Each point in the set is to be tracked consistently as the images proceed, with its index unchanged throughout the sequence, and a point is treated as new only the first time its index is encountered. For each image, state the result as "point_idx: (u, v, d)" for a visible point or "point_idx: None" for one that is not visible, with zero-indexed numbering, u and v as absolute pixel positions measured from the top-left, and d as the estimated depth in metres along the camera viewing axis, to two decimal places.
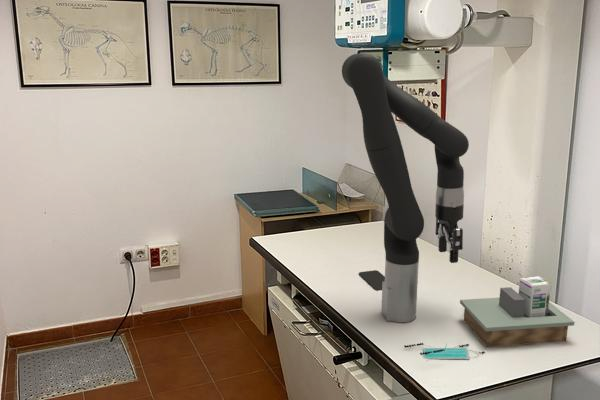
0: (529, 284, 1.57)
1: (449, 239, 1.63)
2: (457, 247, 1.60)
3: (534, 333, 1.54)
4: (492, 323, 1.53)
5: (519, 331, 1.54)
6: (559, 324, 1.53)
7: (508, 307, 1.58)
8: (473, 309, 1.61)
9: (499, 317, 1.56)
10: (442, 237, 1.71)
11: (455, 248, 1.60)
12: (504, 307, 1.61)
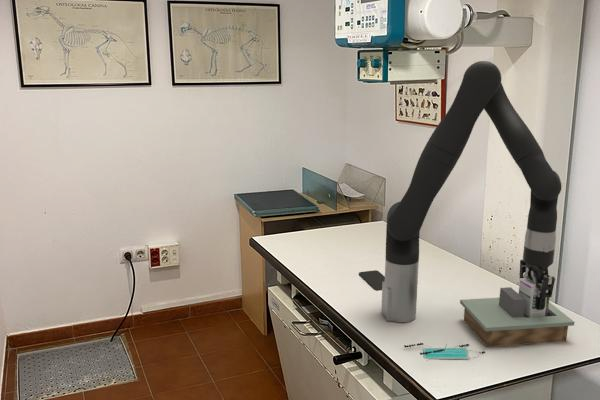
0: (529, 284, 1.57)
1: (537, 285, 1.56)
2: (546, 294, 1.53)
3: (534, 333, 1.54)
4: (492, 323, 1.53)
5: (519, 331, 1.54)
6: (559, 324, 1.53)
7: (508, 307, 1.58)
8: (473, 309, 1.61)
9: (499, 317, 1.56)
10: None
11: (544, 295, 1.53)
12: (504, 307, 1.61)
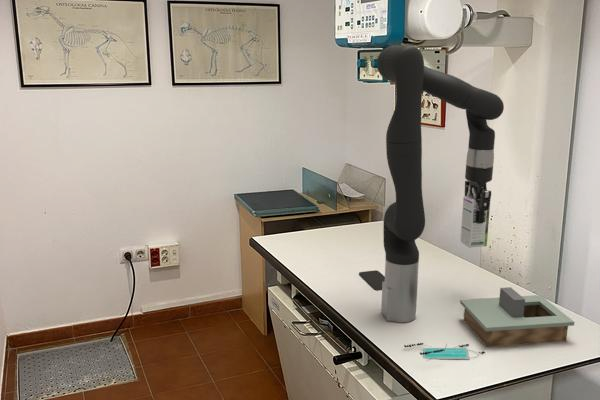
0: (470, 200, 1.72)
1: (477, 200, 1.70)
2: (484, 207, 1.68)
3: (534, 333, 1.54)
4: (492, 323, 1.53)
5: (519, 331, 1.54)
6: (559, 324, 1.53)
7: (508, 307, 1.58)
8: (473, 309, 1.61)
9: (499, 317, 1.56)
10: None
11: (482, 208, 1.68)
12: (504, 307, 1.61)
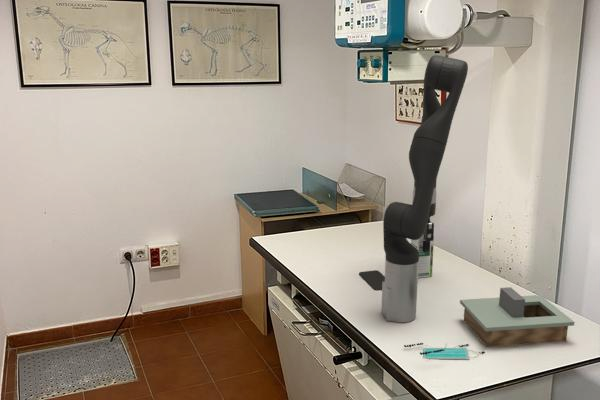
0: None
1: None
2: (429, 238, 1.90)
3: (534, 333, 1.54)
4: (492, 323, 1.53)
5: (519, 331, 1.54)
6: (559, 324, 1.53)
7: (508, 307, 1.58)
8: (473, 309, 1.61)
9: (499, 317, 1.56)
10: None
11: (427, 239, 1.90)
12: (504, 307, 1.61)
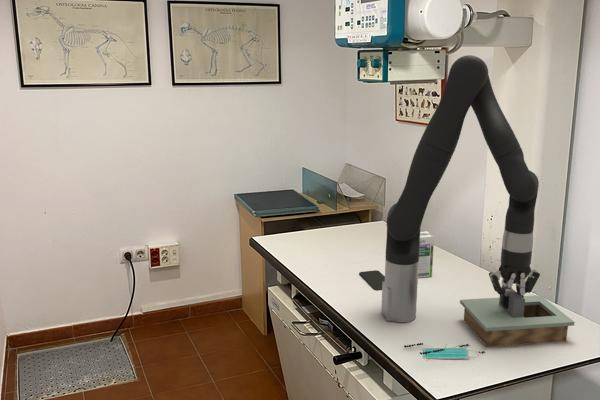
0: None
1: (502, 282, 1.59)
2: None
3: (534, 333, 1.54)
4: (492, 323, 1.53)
5: (519, 331, 1.54)
6: (559, 324, 1.53)
7: (508, 307, 1.58)
8: (473, 308, 1.61)
9: (499, 317, 1.56)
10: (518, 290, 1.59)
11: (495, 289, 1.59)
12: None
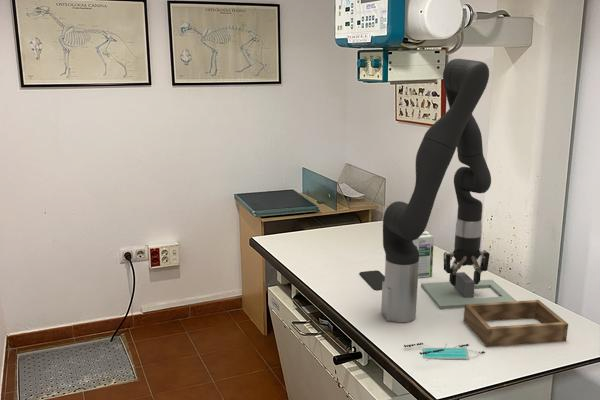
0: None
1: (453, 263, 1.82)
2: (445, 269, 1.81)
3: (534, 333, 1.54)
4: (445, 302, 1.77)
5: (519, 331, 1.54)
6: None
7: (461, 289, 1.82)
8: (431, 290, 1.85)
9: (452, 297, 1.80)
10: (476, 269, 1.83)
11: (444, 268, 1.82)
12: (458, 289, 1.85)
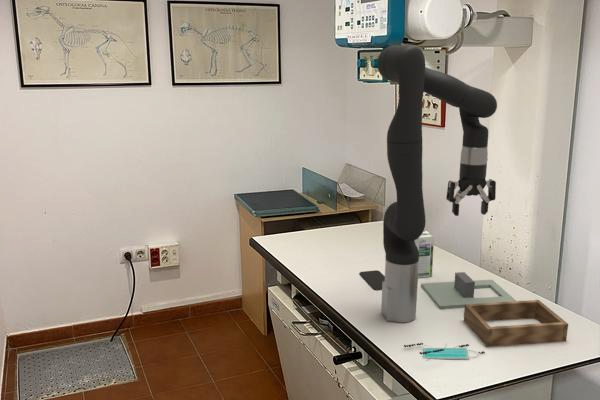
0: None
1: (457, 192, 1.77)
2: (448, 198, 1.76)
3: (534, 333, 1.54)
4: (445, 302, 1.77)
5: (519, 331, 1.54)
6: None
7: (461, 289, 1.82)
8: (431, 290, 1.85)
9: (452, 297, 1.80)
10: (483, 199, 1.77)
11: (447, 198, 1.76)
12: (458, 289, 1.85)
